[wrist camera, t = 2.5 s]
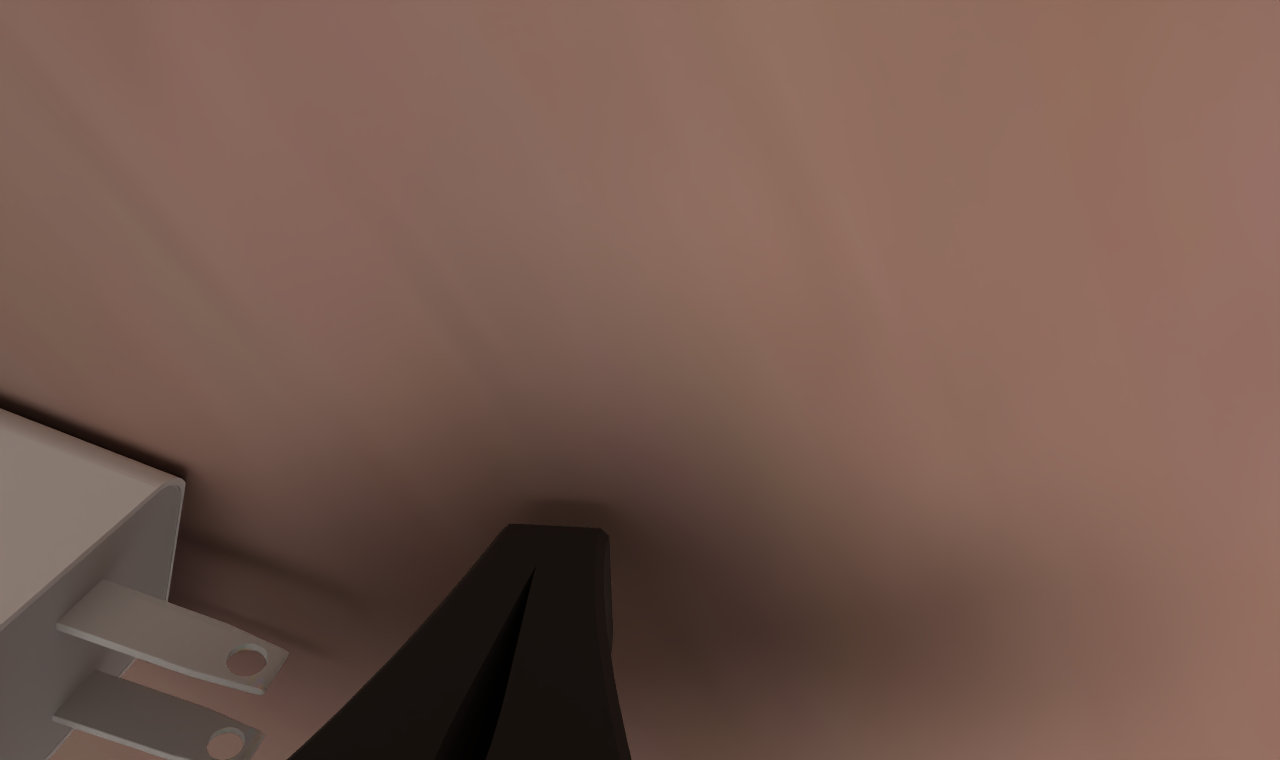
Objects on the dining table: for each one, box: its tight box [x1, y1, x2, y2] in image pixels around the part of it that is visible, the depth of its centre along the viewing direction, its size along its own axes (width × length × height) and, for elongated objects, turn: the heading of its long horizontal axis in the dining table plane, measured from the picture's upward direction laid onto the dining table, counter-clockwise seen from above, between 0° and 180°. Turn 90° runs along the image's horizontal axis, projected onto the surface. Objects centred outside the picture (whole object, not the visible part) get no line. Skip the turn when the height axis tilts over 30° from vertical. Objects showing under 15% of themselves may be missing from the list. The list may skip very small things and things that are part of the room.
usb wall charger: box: [0, 408, 289, 760], centre depth 9 cm, size 4×7×4 cm, turn 65°
